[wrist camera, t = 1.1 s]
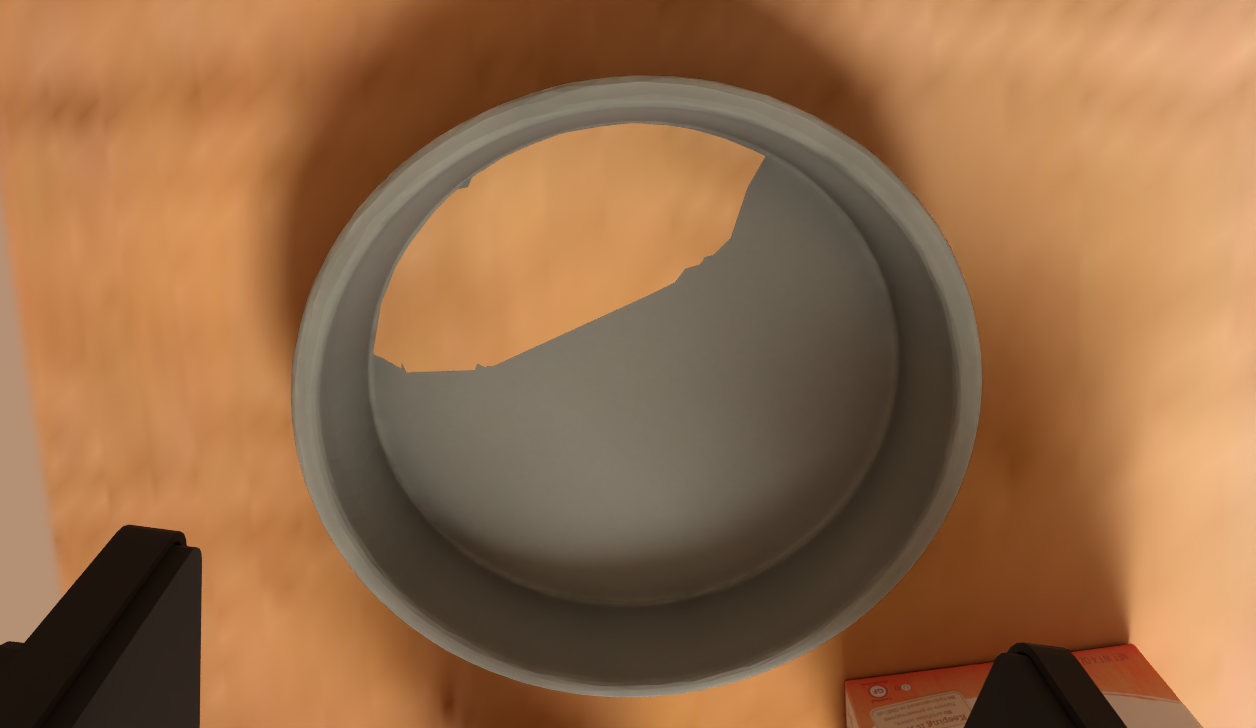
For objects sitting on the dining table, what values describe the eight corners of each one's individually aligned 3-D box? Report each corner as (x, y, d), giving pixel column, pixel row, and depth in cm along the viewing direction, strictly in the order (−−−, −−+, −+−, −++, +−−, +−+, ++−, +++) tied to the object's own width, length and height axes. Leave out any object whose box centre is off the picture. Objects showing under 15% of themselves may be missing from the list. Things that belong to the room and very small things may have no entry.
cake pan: (1049, 188, 33) (1117, 218, 29) (796, 675, 42) (820, 752, 38) (400, -41, 29) (369, -44, 25) (274, 555, 38) (236, 626, 34)
